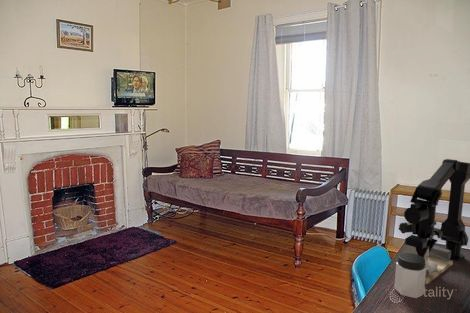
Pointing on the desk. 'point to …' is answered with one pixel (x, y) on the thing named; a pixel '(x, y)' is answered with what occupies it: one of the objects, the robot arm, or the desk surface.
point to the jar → (410, 275)
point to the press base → (438, 262)
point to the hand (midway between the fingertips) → (422, 259)
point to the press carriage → (429, 264)
